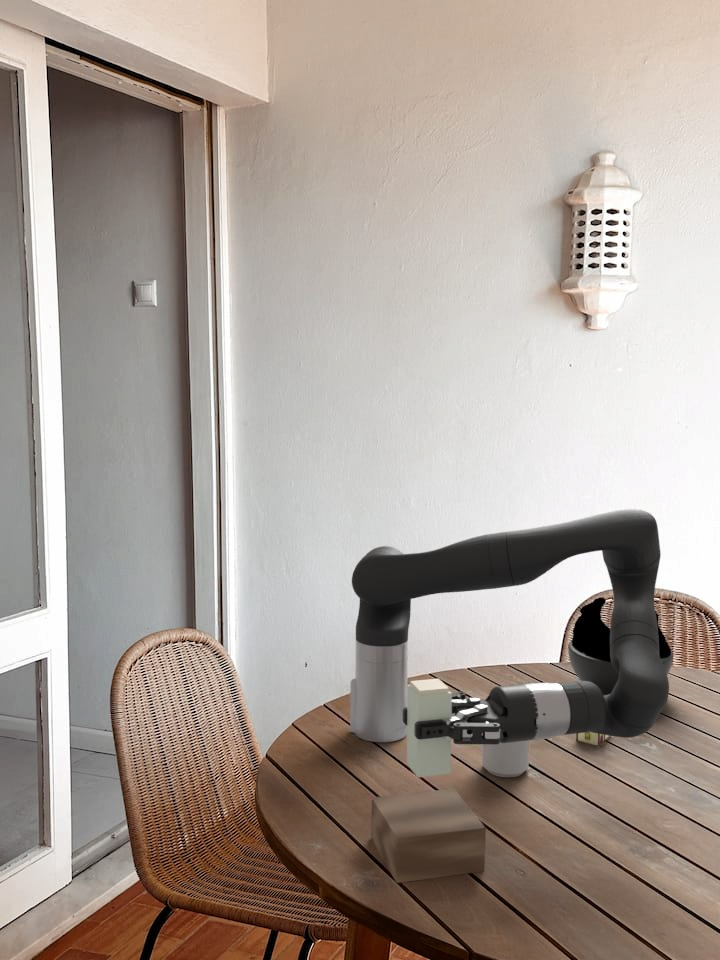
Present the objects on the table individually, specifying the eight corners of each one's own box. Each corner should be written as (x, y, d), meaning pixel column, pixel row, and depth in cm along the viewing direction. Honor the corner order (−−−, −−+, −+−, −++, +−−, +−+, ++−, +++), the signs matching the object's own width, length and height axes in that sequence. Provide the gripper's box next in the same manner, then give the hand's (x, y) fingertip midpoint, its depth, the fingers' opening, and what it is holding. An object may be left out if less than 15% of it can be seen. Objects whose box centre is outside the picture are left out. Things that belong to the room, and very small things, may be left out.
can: (527, 781, 157) (529, 708, 155) (480, 777, 158) (481, 704, 157) (529, 762, 164) (531, 692, 162) (483, 758, 165) (485, 689, 164)
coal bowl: (684, 717, 185) (689, 619, 183) (577, 715, 185) (581, 617, 183) (654, 681, 205) (658, 593, 203) (557, 680, 205) (560, 592, 203)
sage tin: (406, 763, 133) (407, 680, 132) (438, 759, 135) (439, 677, 133) (417, 777, 129) (418, 691, 128) (450, 773, 130) (451, 688, 129)
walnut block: (371, 838, 138) (371, 797, 137) (452, 828, 141) (453, 788, 140) (396, 882, 126) (397, 838, 125) (484, 871, 129) (485, 827, 128)
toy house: (575, 745, 172) (577, 700, 171) (577, 732, 178) (579, 688, 178) (609, 749, 171) (611, 704, 170) (610, 735, 177) (612, 691, 176)
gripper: (508, 669, 141) (393, 678, 137) (552, 703, 127) (427, 715, 123) (506, 719, 142) (393, 731, 138) (551, 758, 128) (426, 772, 124)
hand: (409, 723), depth 130 cm, fingers closed on sage tin, 4 cm apart
